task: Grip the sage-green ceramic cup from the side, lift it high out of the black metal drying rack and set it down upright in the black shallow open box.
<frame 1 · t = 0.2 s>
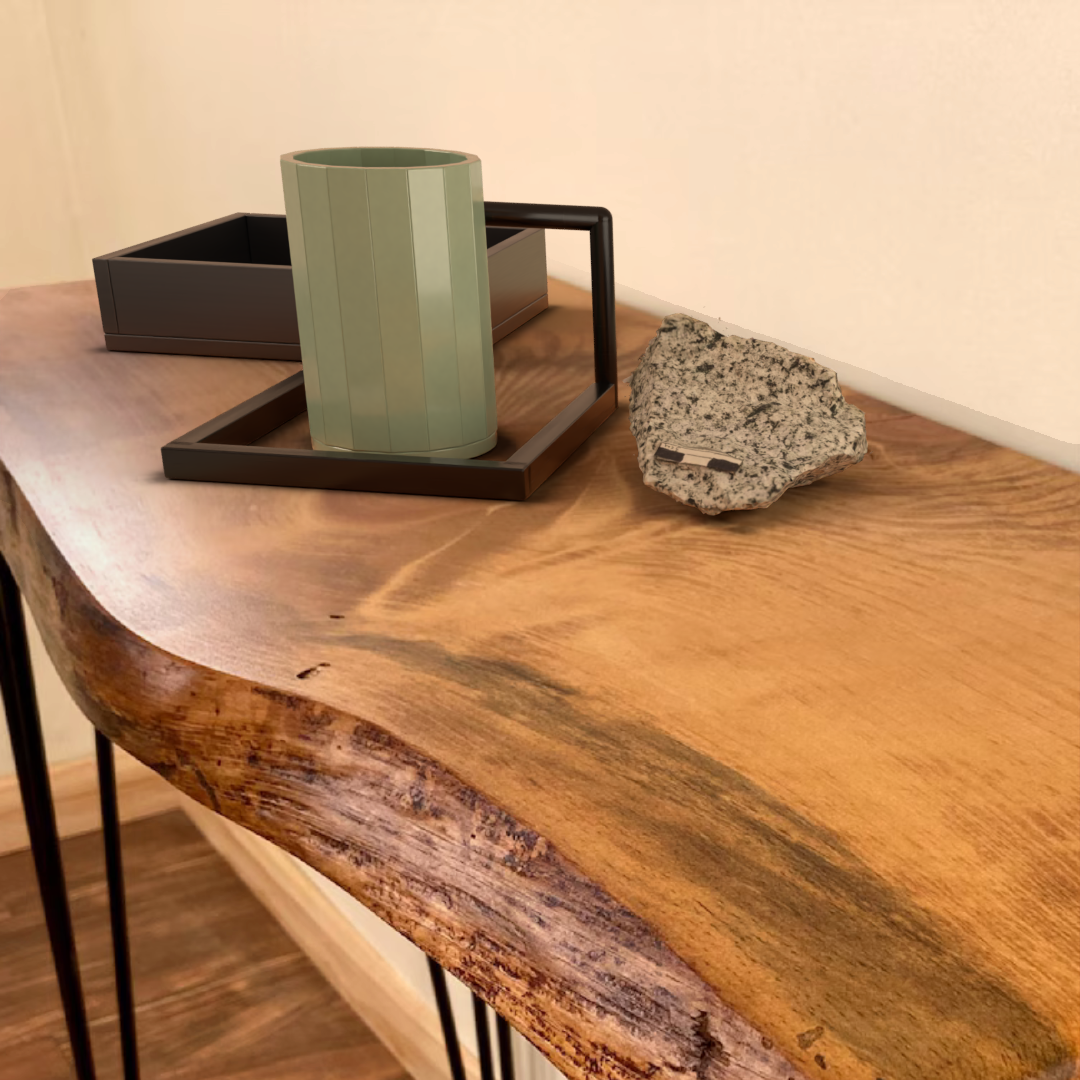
rock sample: (751, 497, 68), on the table
black shallow open box: (342, 327, 93), on the table
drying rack: (409, 440, 73), on the table
cup: (405, 443, 73), resting in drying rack
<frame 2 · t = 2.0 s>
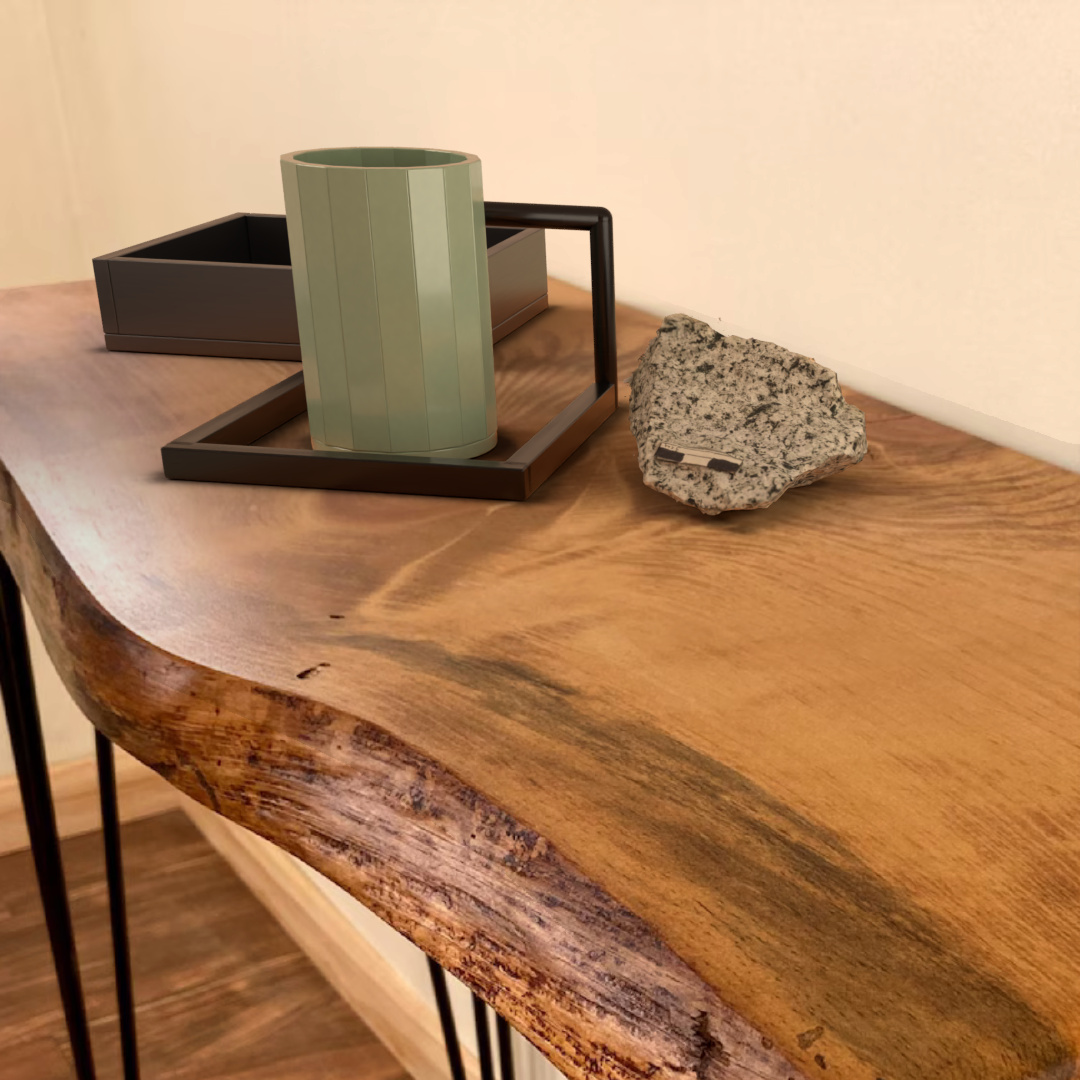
nothing on the table moved.
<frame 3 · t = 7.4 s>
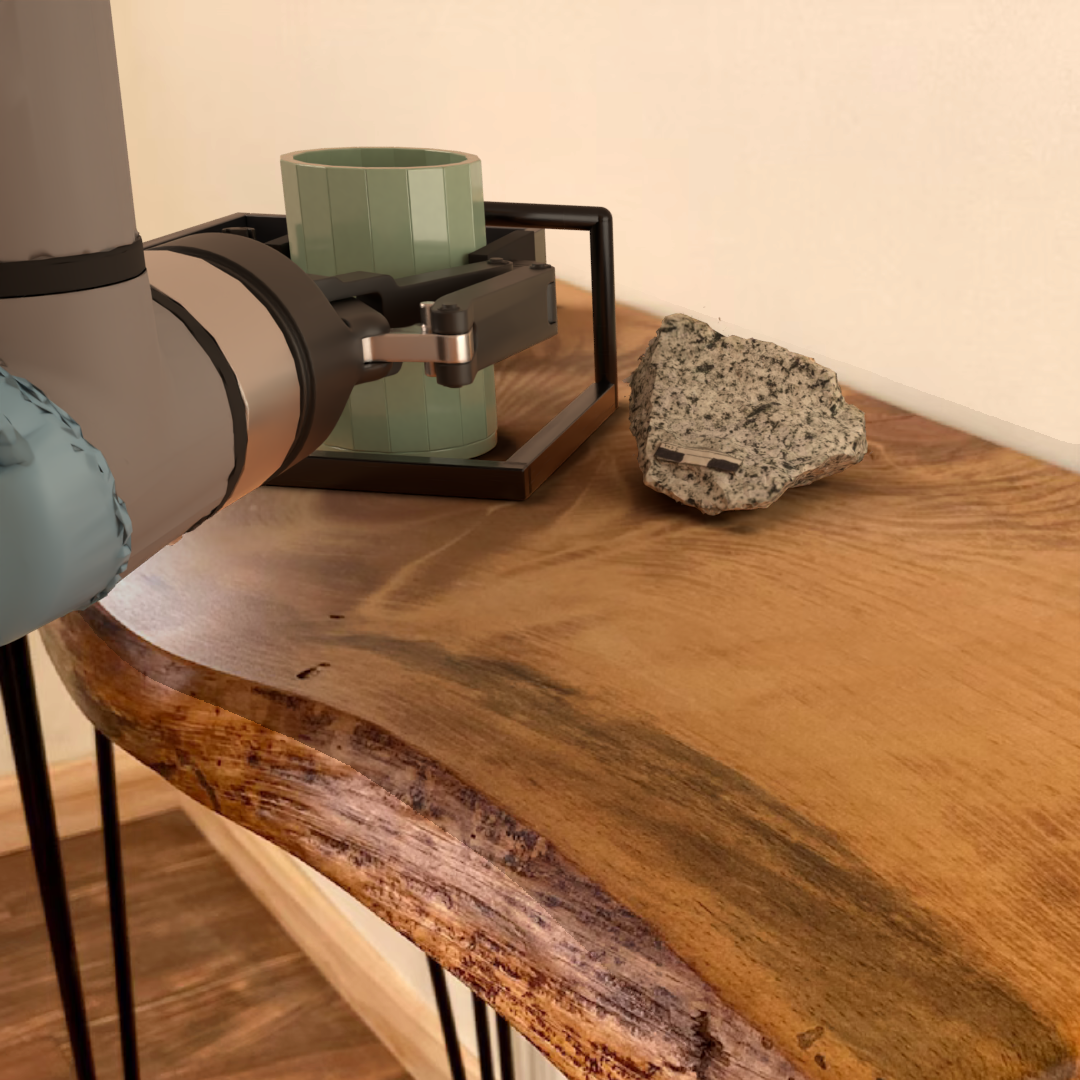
hand: (431, 259, 74), 6 cm above the table, tool horizontal, fingers closed on cup, 7 cm apart
cup: (405, 443, 73), resting in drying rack, touching gripper
everything else where it was.
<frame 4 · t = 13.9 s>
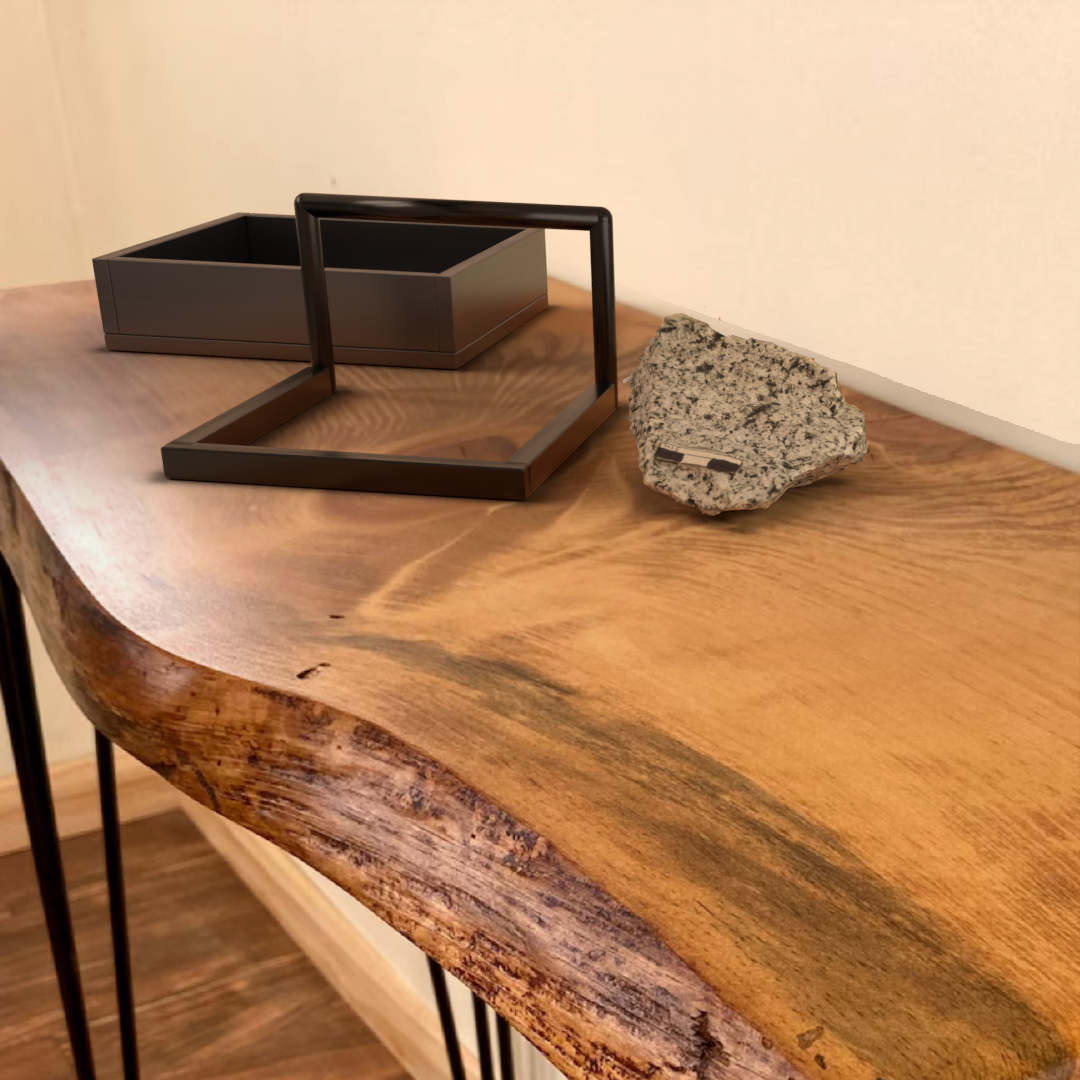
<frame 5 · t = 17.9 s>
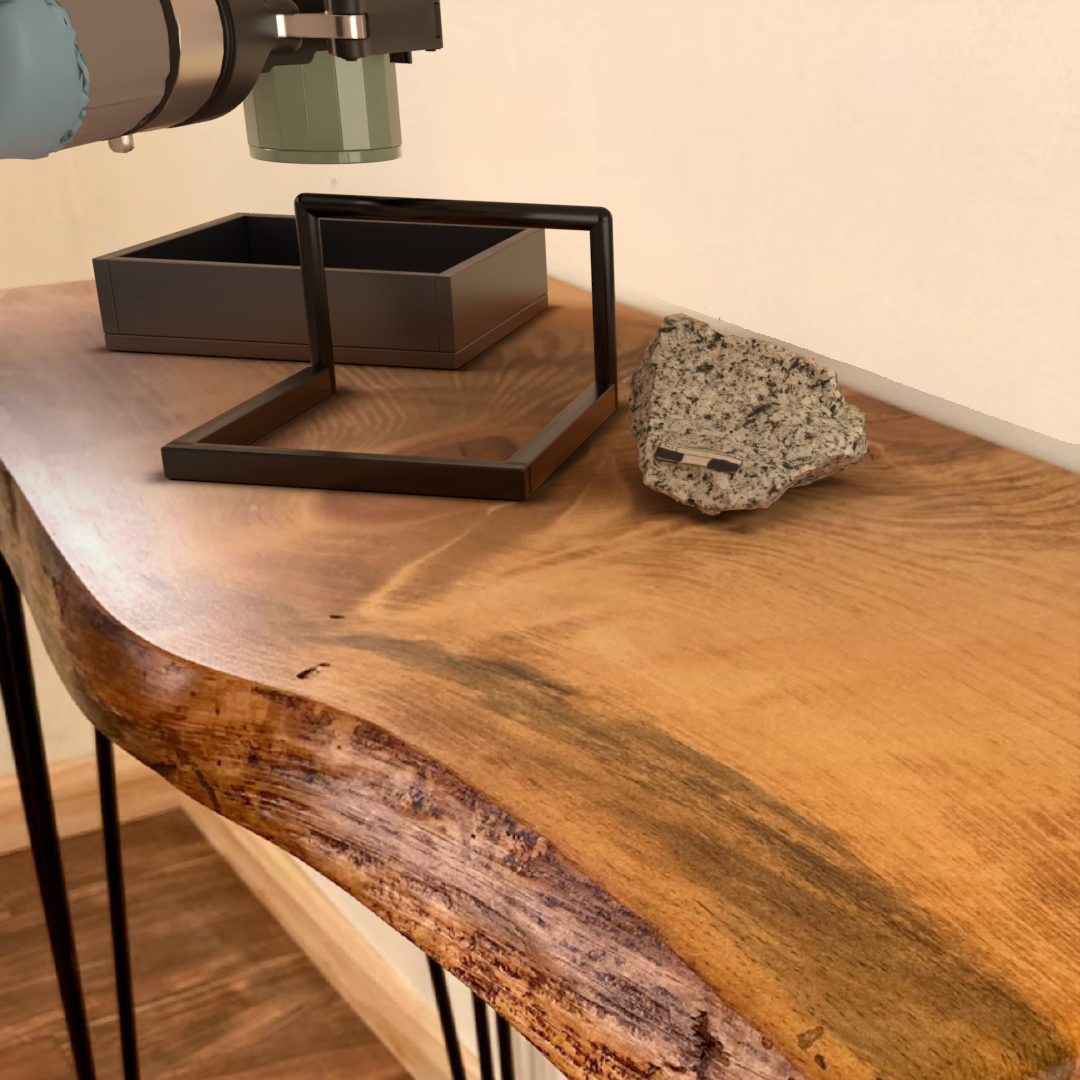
hand: (348, 10, 91), 15 cm above the table, tool horizontal, fingers closed on cup, 7 cm apart
cup: (326, 156, 89), point 8 cm above the table, touching gripper
everything else where it was.
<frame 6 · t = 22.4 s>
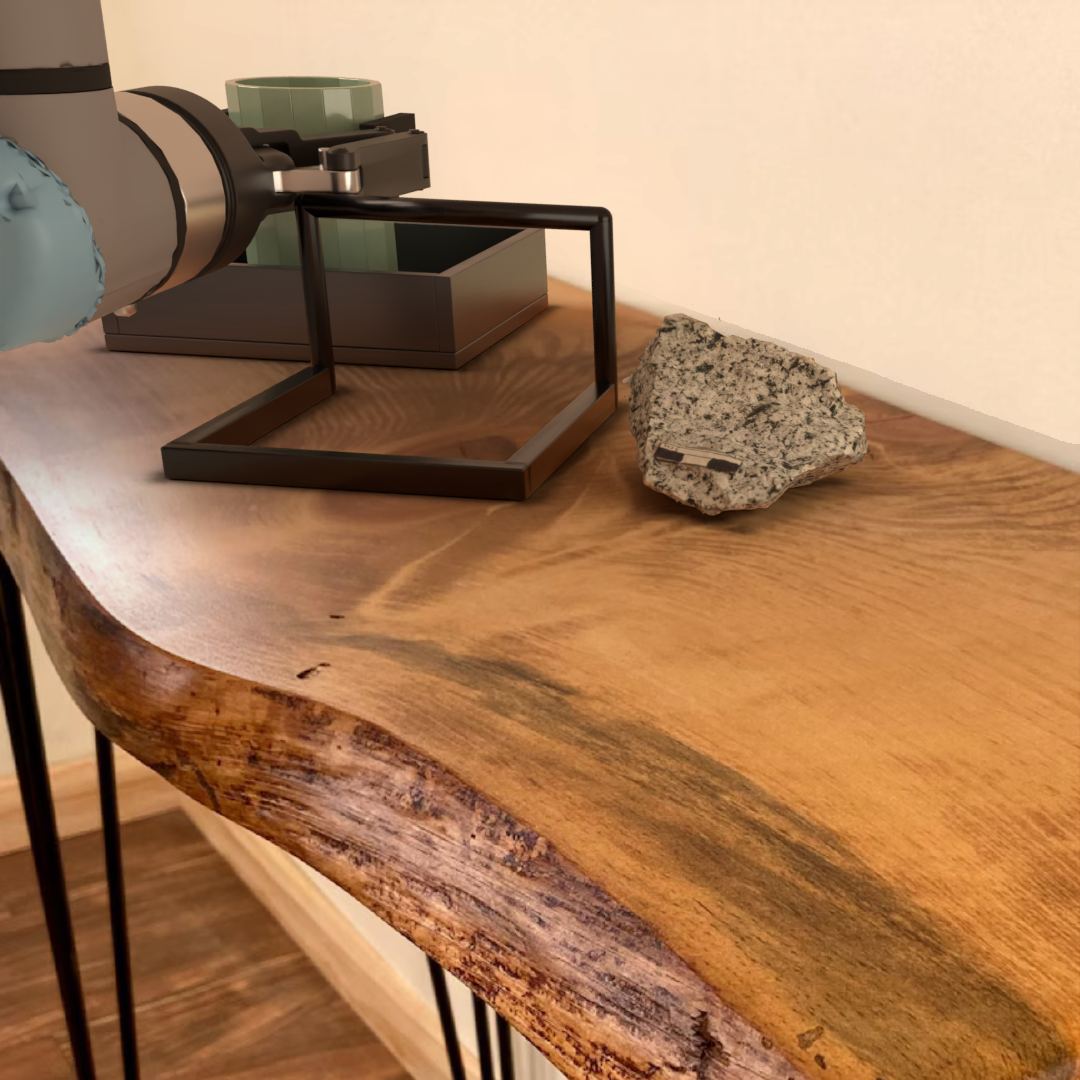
hand: (332, 137, 92), 9 cm above the table, tool horizontal, fingers closed on cup, 7 cm apart
cup: (328, 310, 93), point 1 cm above the table, touching gripper, black shallow open box
everything else where it was.
when the fingers open (10 cm above the table, at t = 24.0 s): cup moves 1 cm, resting on black shallow open box.
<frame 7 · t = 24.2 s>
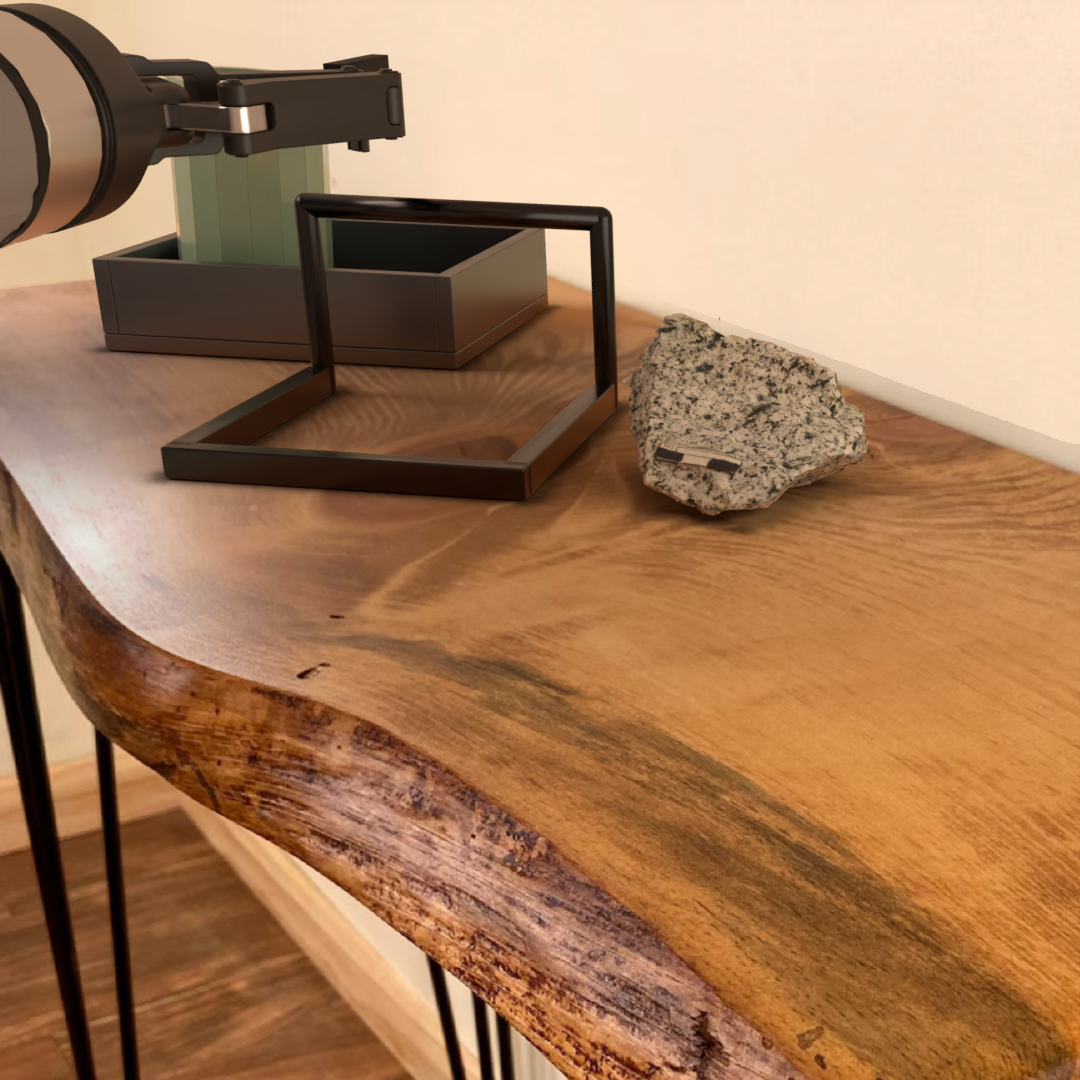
hand: (236, 79, 81), 12 cm above the table, tool horizontal, fingers open, 13 cm apart
cup: (260, 306, 92), point 1 cm above the table, touching black shallow open box
everything else where it was.
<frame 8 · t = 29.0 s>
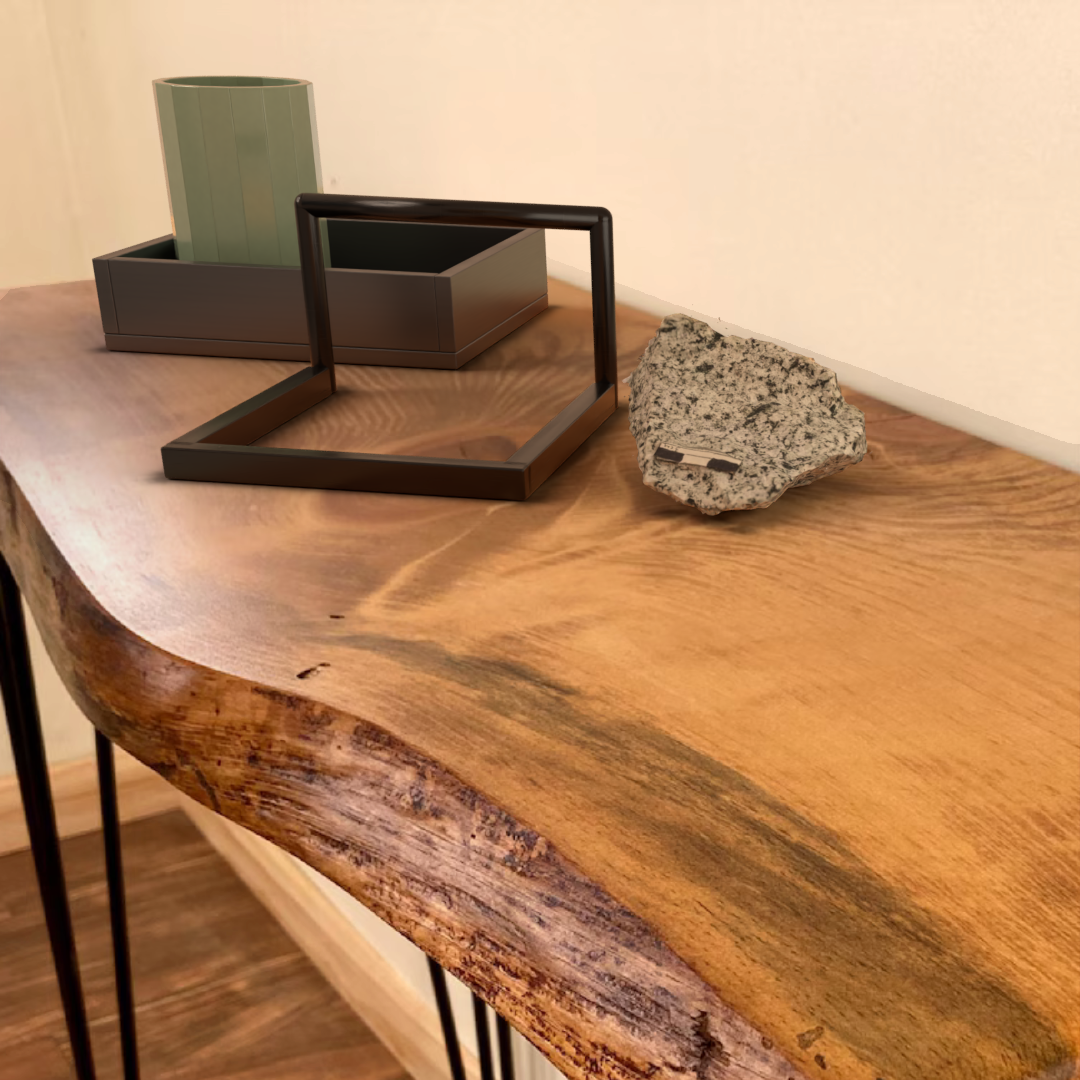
nothing on the table moved.
at the end: cup inside the target area in the black shallow open box (4.1 cm from its centre), point 0.8 cm above the black shallow open box's base; cup tilted 0°; the gripper is holding nothing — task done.
